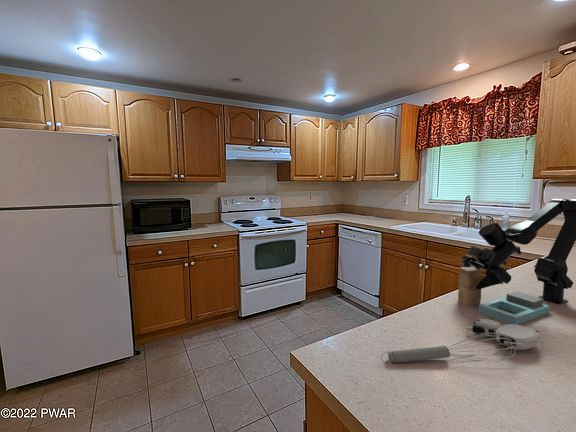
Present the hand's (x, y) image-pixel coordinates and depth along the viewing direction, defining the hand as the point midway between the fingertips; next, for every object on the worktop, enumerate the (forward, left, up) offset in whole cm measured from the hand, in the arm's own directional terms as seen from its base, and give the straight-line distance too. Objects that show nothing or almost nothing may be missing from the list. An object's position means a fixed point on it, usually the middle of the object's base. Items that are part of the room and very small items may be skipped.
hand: (467, 284), depth 103 cm
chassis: (-7, +12, -7) cm, 15 cm away
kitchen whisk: (+37, +20, -8) cm, 43 cm away
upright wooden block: (-1, 0, -7) cm, 7 cm away
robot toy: (+15, +20, -8) cm, 27 cm away
